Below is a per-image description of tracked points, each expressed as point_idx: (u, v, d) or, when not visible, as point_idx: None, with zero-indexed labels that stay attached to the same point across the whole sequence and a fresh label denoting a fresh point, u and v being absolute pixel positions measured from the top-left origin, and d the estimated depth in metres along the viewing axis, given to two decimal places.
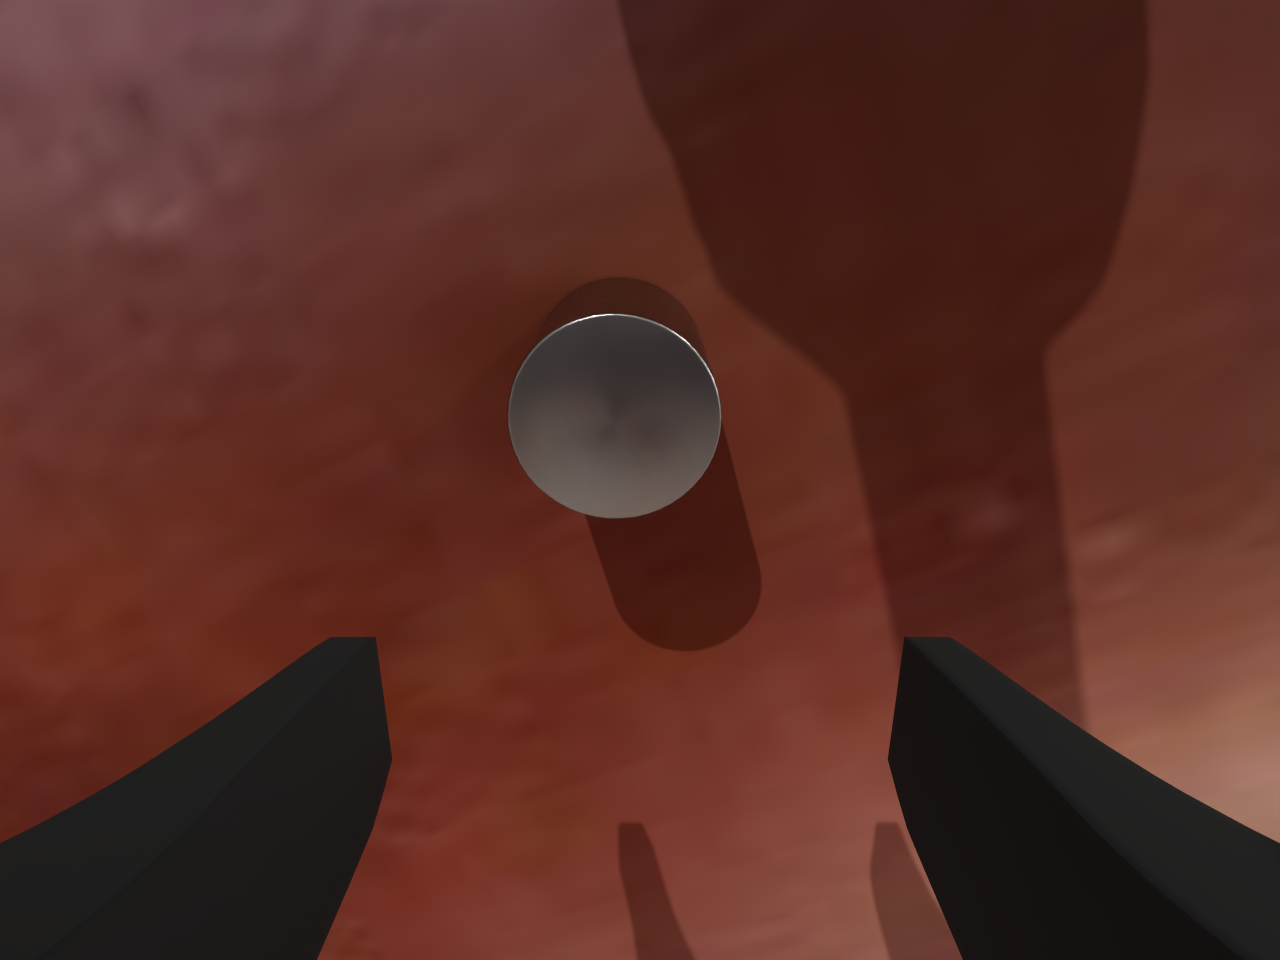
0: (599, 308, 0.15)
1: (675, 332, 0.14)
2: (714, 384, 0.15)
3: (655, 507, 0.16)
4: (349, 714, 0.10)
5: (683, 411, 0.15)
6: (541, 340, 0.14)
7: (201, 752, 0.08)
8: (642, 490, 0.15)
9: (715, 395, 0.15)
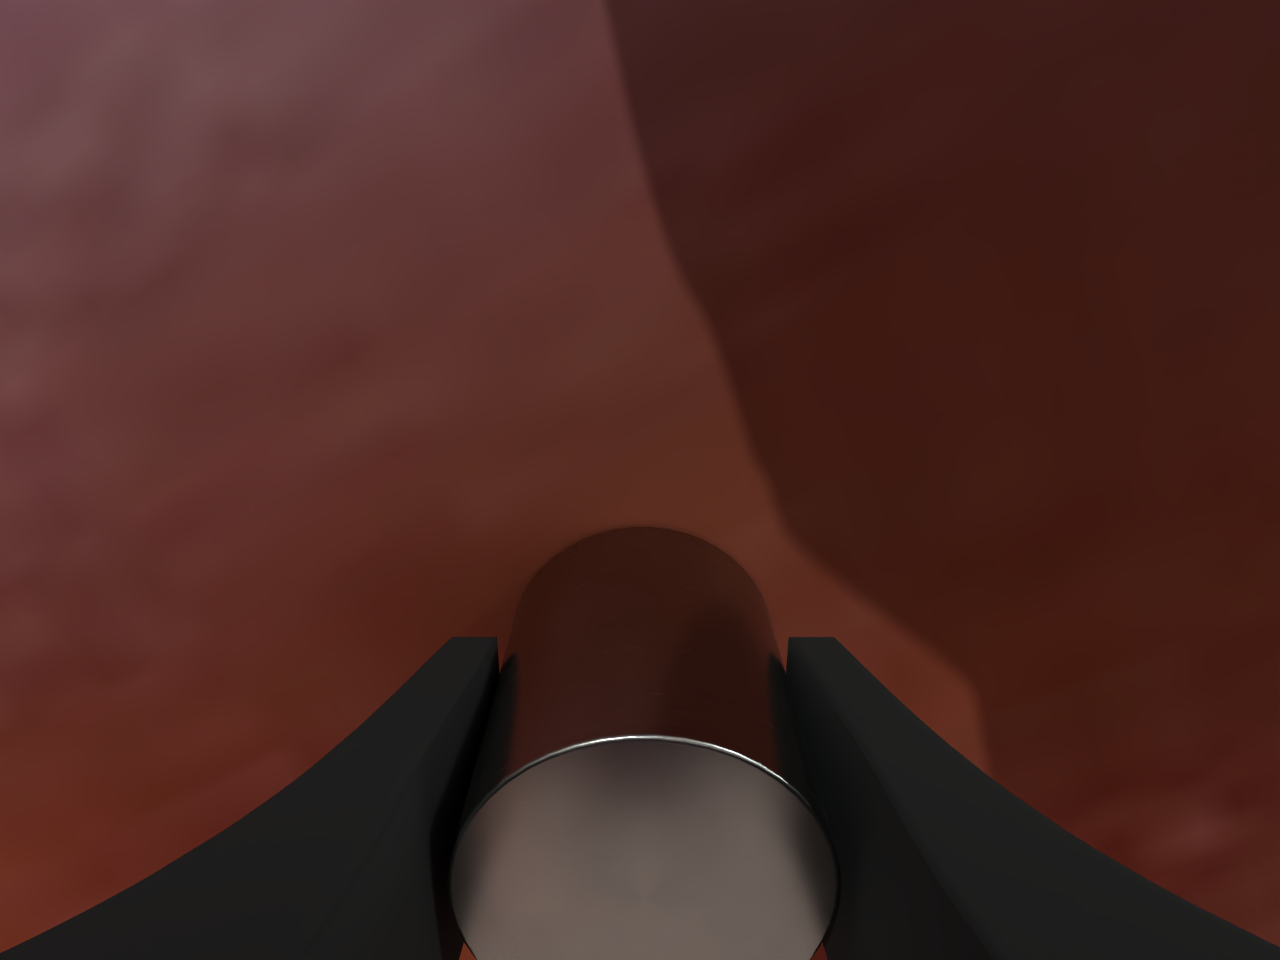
0: (613, 696, 0.08)
1: (758, 763, 0.08)
2: (828, 840, 0.08)
3: None
4: (482, 713, 0.10)
5: (770, 881, 0.08)
6: (507, 778, 0.08)
7: (368, 752, 0.08)
8: None
9: (830, 858, 0.08)
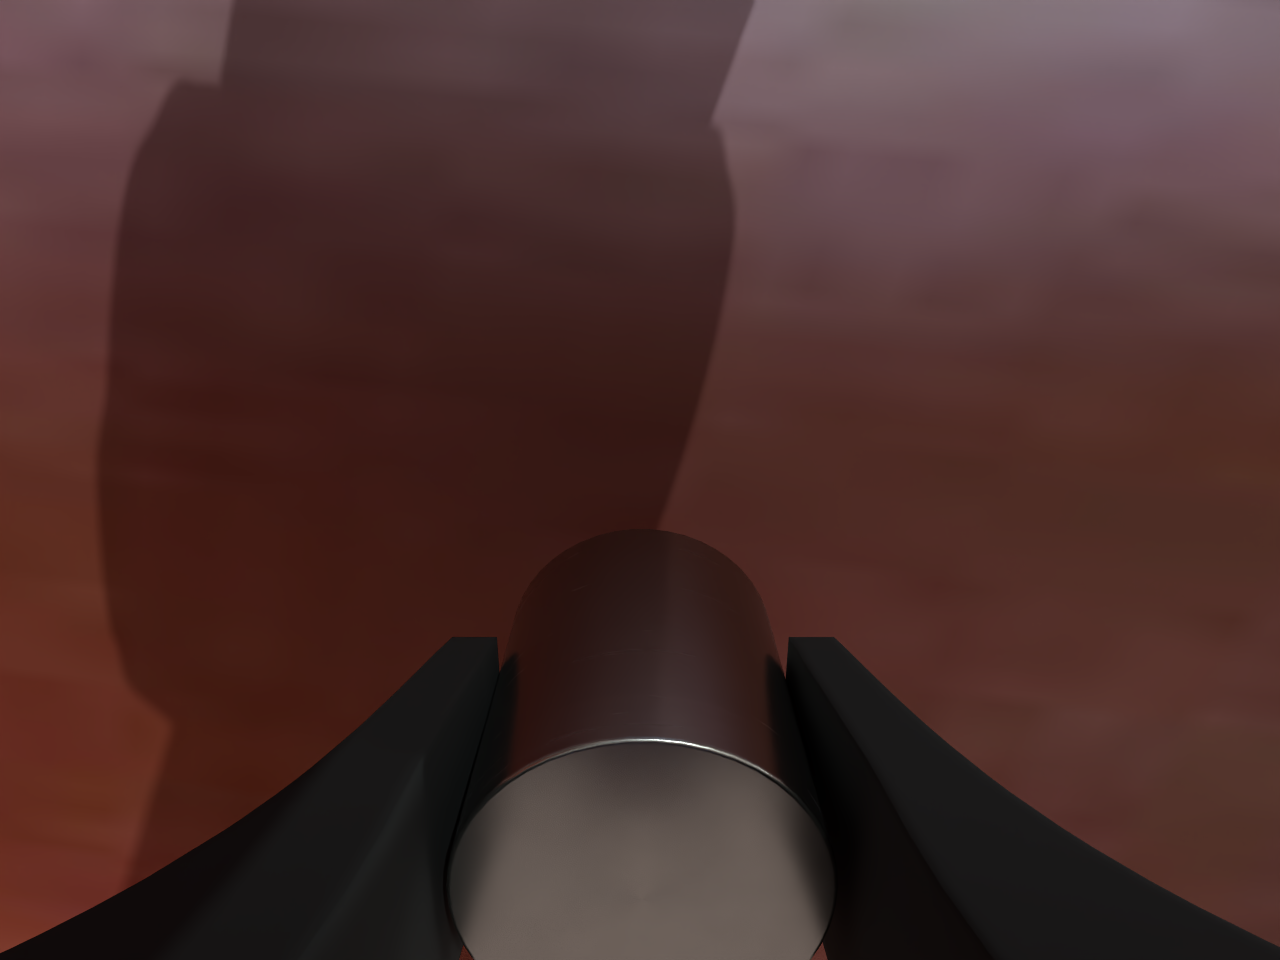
0: (612, 698, 0.08)
1: (756, 766, 0.08)
2: (827, 843, 0.08)
3: None
4: (482, 713, 0.10)
5: (767, 884, 0.08)
6: (507, 781, 0.08)
7: (368, 752, 0.08)
8: None
9: (828, 861, 0.08)
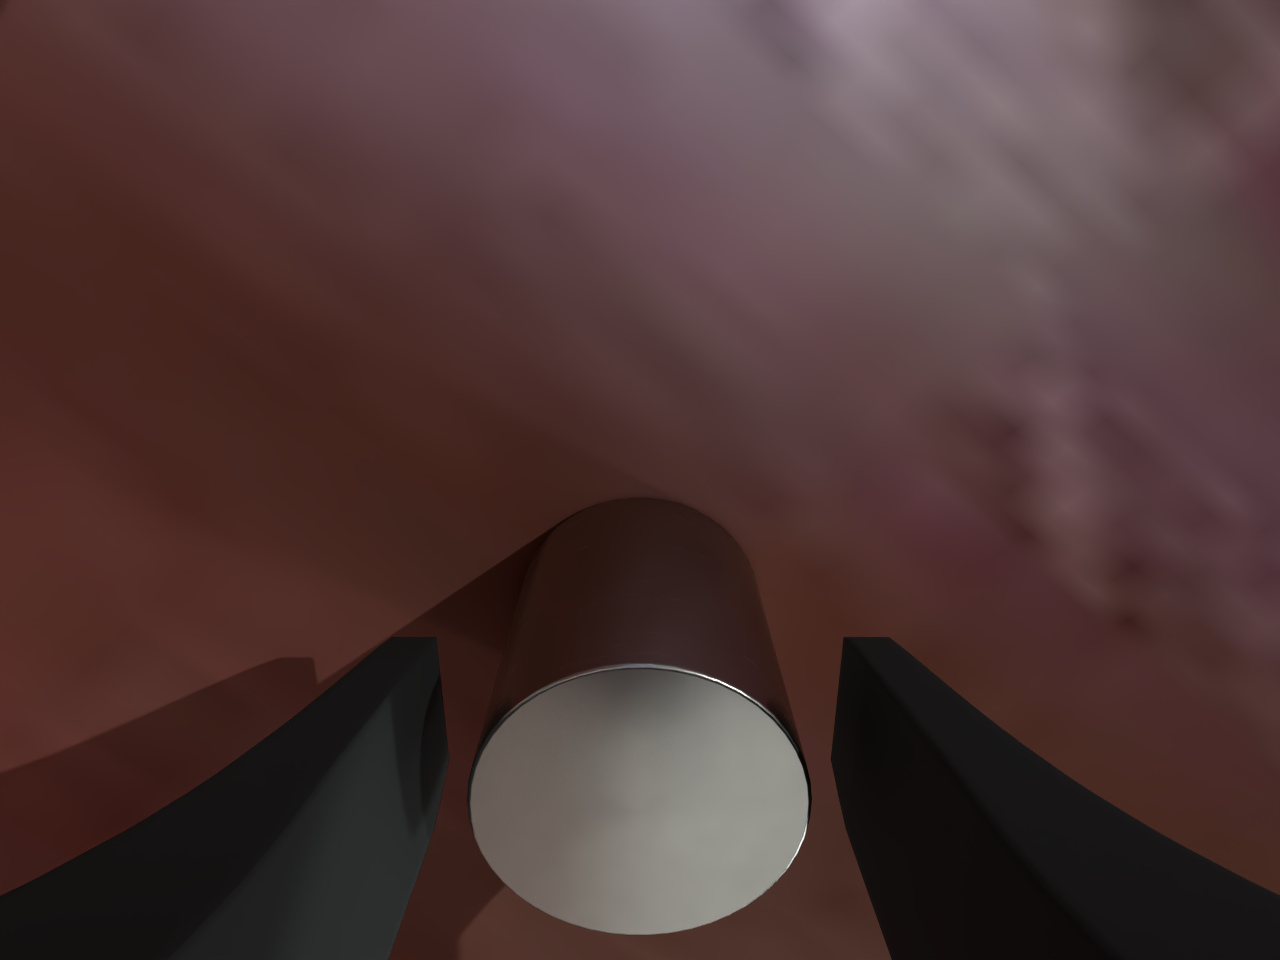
0: (612, 634, 0.09)
1: (739, 689, 0.09)
2: (801, 759, 0.09)
3: (704, 922, 0.10)
4: (416, 713, 0.10)
5: (750, 797, 0.09)
6: (521, 703, 0.09)
7: (285, 752, 0.08)
8: (684, 900, 0.10)
9: (802, 776, 0.09)
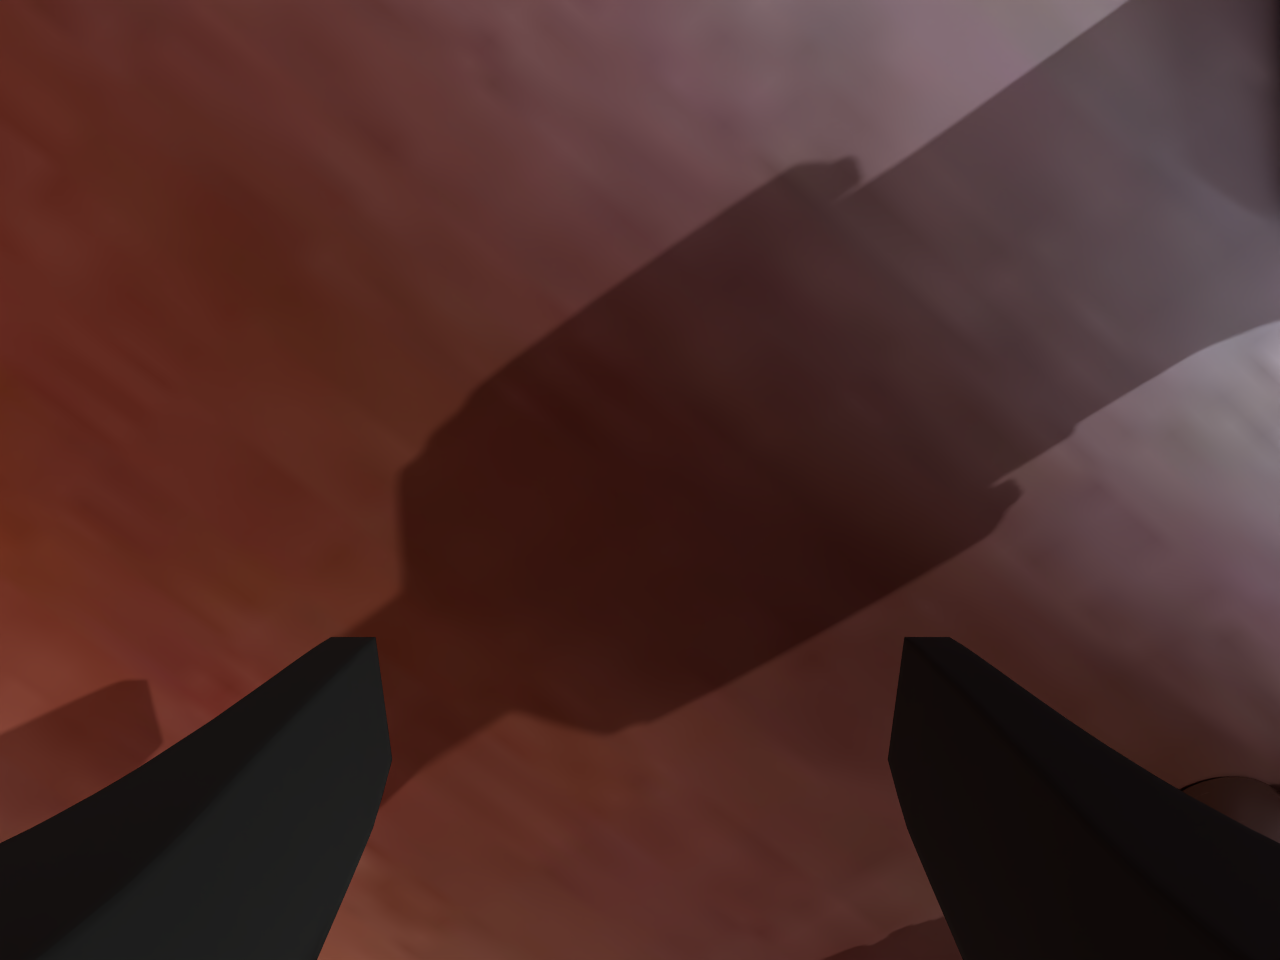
0: None
1: None
2: None
3: None
4: (350, 713, 0.10)
5: None
6: None
7: (201, 752, 0.08)
8: None
9: None
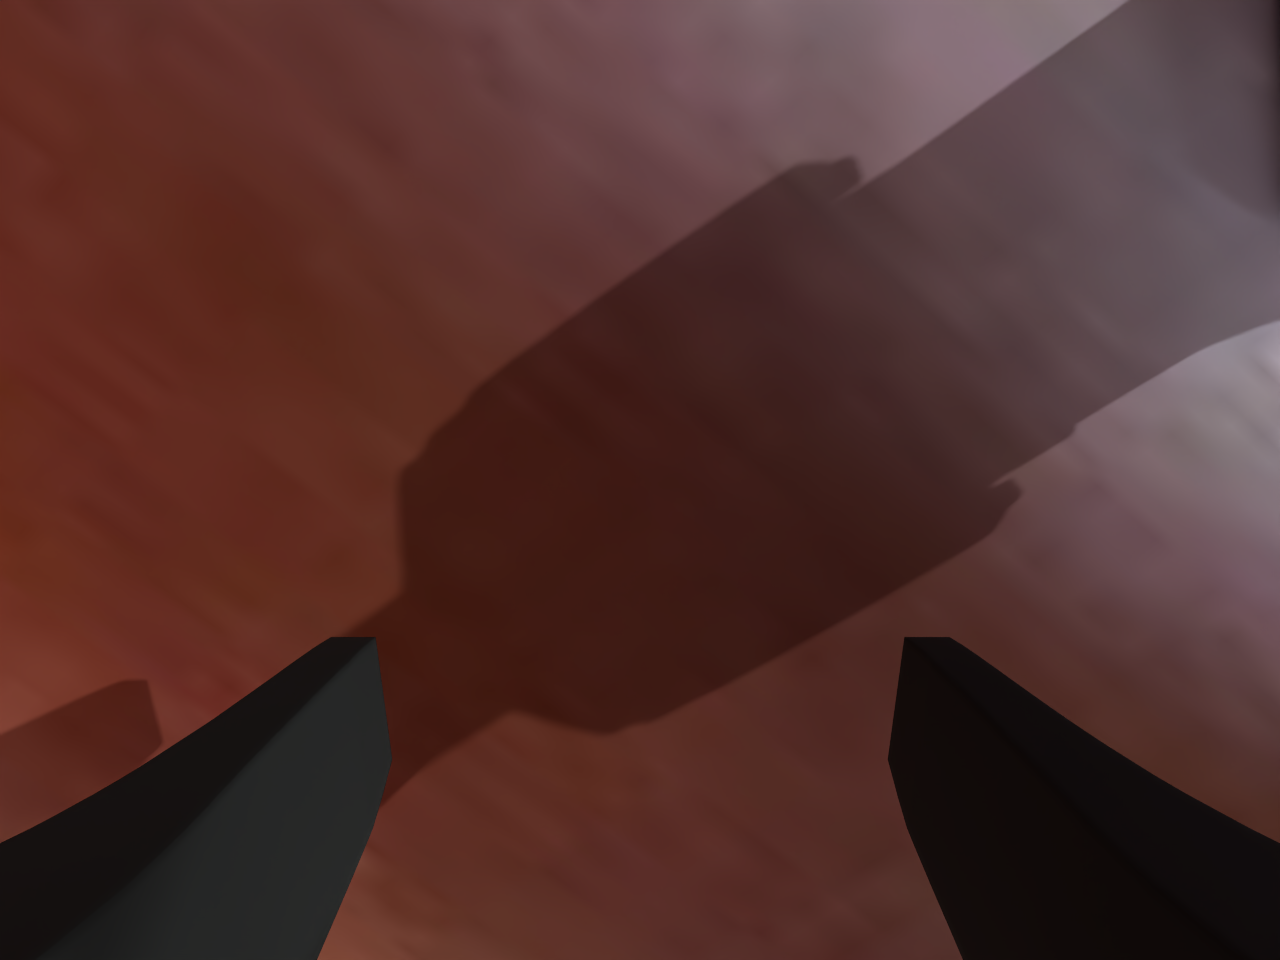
0: None
1: None
2: None
3: None
4: (350, 713, 0.10)
5: None
6: None
7: (201, 752, 0.08)
8: None
9: None
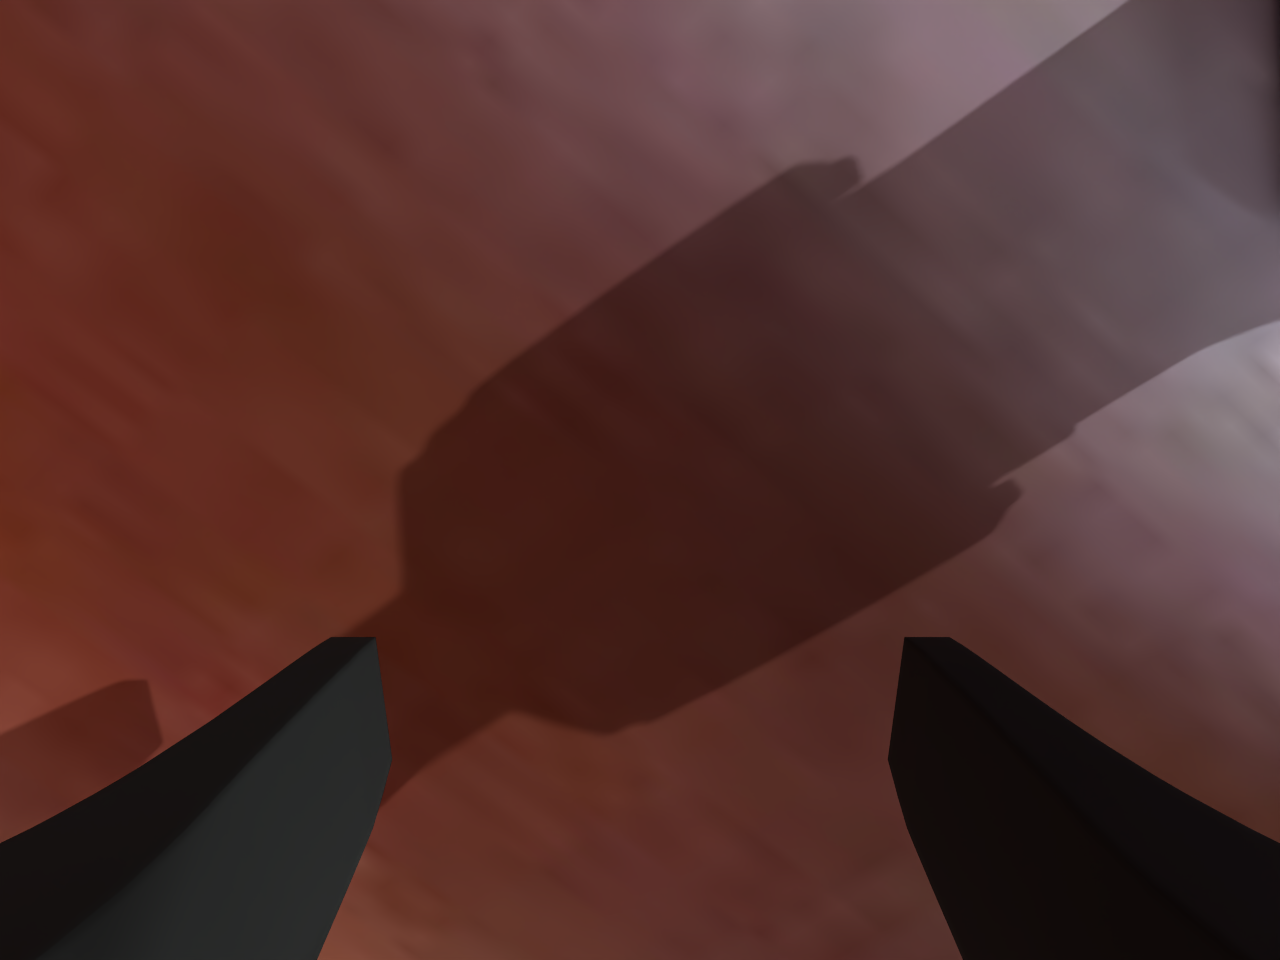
0: None
1: None
2: None
3: None
4: (350, 713, 0.10)
5: None
6: None
7: (201, 752, 0.08)
8: None
9: None
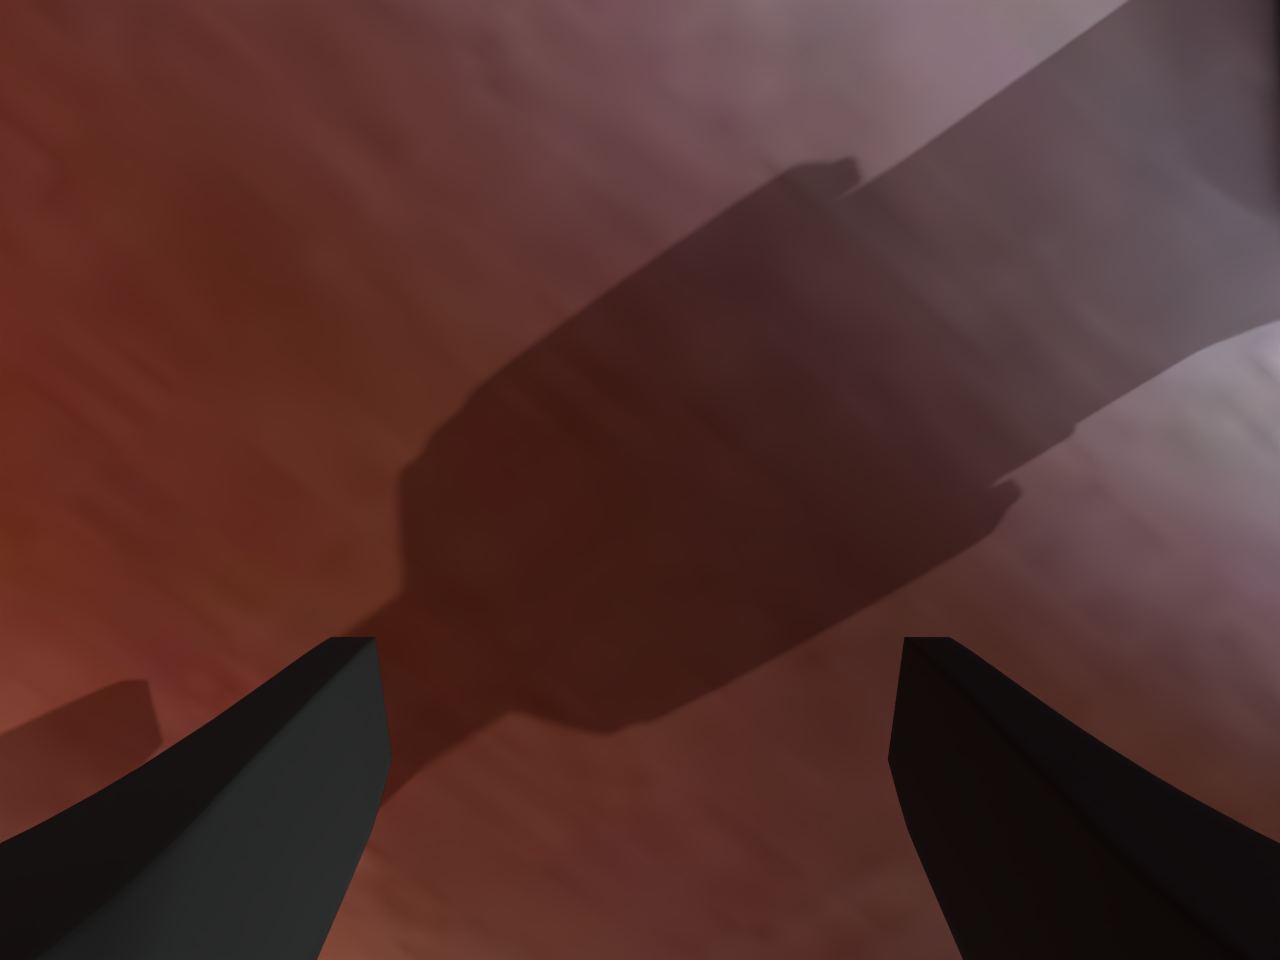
0: None
1: None
2: None
3: None
4: (350, 713, 0.10)
5: None
6: None
7: (201, 752, 0.08)
8: None
9: None
